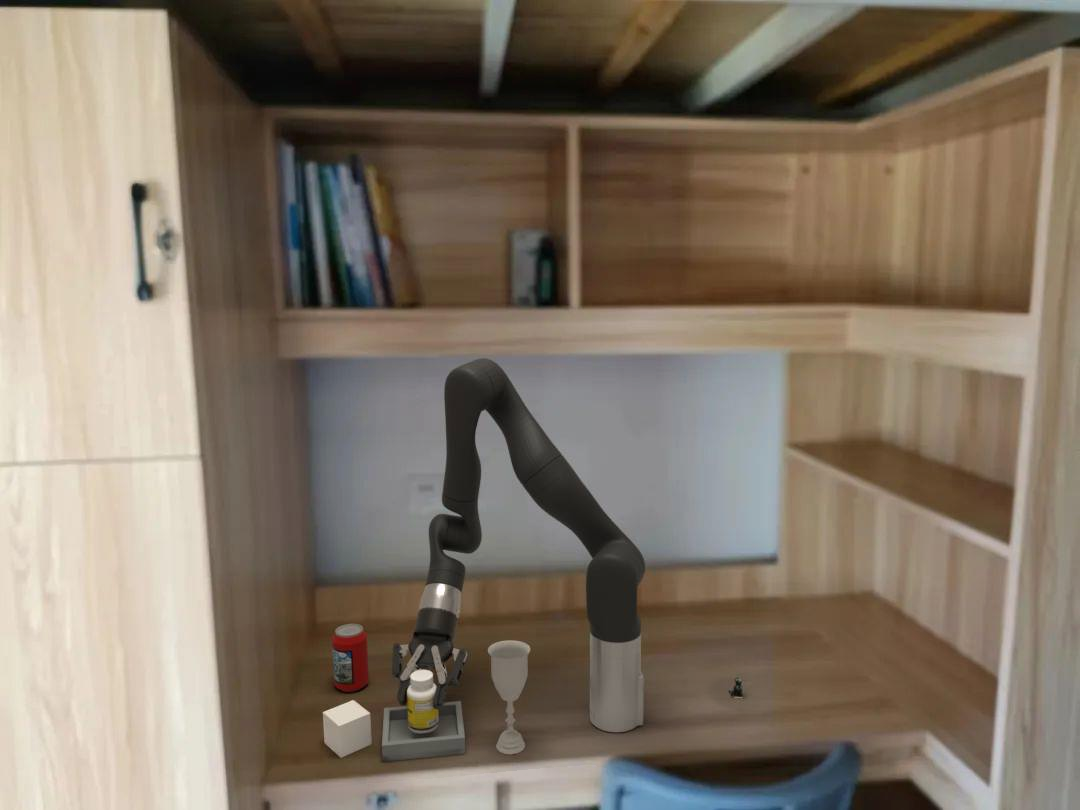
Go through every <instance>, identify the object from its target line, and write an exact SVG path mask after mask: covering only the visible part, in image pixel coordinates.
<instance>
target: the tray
mask: <svg viewBox="0 0 1080 810" xmlns="http://www.w3.org/2000/svg"><path fill="white" fill-rule="evenodd" d="M462 710H463V709H462V701H461V700H458V701H447V702H445V701H444V704H443V706H440V709H438V716H439V724H438V726H437V728H436V729H435V730H433V731H431V732H428V733H415V732H413V731H411V730H410V729H409V726H408V709H407V705H406V706H402V705H400V706H392V707H383V723H382V736H381V737H382V738H381V740H382V741H381V756H382V757H381V759H382V763H385V762H395V761H404V760H405V761H406V760H415V759H416V760H417V759H424V758H425V759H426V758H434V757H435V758H436V757H445V756H455V755H456V756H457V755H464V754H466V737H465V735H466V734H465V727H464V718H463V711H462Z"/></svg>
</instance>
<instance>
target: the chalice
mask: <svg viewBox="0 0 1080 810" xmlns="http://www.w3.org/2000/svg"><path fill="white" fill-rule="evenodd" d="M530 646H531V645H528V644H527V643H525V642H523V641H519V640H511V639H510V640H501V641H497V642H495V643H492V644H491V645H490V646H489V647H488V649H487V652H488V654H489V655H490V662H491V663H490V665H491V666H490V669H491V670H490V671H491V673H490V674H491V680H492V681H493V684H494V686H495V689H496V691H497V693H498V694H499V697H501V699H502V700H503V701H504V702H506V703H507V704H506V705H507V706H506V708H505V712H506V715H507V716H506V718H505V720H504V722H505V723H506V724H507V728H506V729H505V730H503V731H502V733H500V736H499V738H498V740H497V743H496V745H495V746H496V750H497V751H498V752H500V753H501V754H505V755H515V754H519V753H521V752H522V751H524V749H526V748H525V747H526V743H525V741H524V739H523V737H522V734H521V733H520V732H519V731H518V730H517V729H514V728H515V727H514V723H515V722H516V718H514V713H515V711H516V710H515V708H514V705H513V704H514V701H517V700H518V699H519V698H520V695H521V694H522V691H523V689H524V687H525V685H526V681H527V678H528V676H529V672H528V661H529V660H528V658H529V657H528V656H529V654H530V652H531V647H530Z"/></svg>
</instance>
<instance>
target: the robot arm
mask: <svg viewBox="0 0 1080 810" xmlns="http://www.w3.org/2000/svg"><path fill="white" fill-rule="evenodd" d="M443 392H444V393H443V398H444V415H445V416H444V418H445V420H444V421H445V438H446V439H445V441H446V444H445V445H446V448H445V449H446V456H445V457H446V458H445V470H444V477H443V478H444V479H443V485H442V493H441V503H442V506H443V507H444V508H445V509H447V510H448V511H450V512H453V513H454V514H457V515H453V514H448V513H439V514H436V515H435V516H434V517H432V519H431V521H430V523H429V526H428V541H429V543H428V544H429V565H428V572H427V578H426V580H425V581H426V583H425V586H424V590H423V592H422V596H421V598H420V603H419V608H418V611H417V616H416V621H415V623H414V624H415V625H414V629H413V634H412V639H411V640H410V641H409V643H408V644H400V643H399V642H396V643H394V644H393V646H392V647H393V648H392V662H391V663H392V664H391V675H392V676H393V678H394V679H396V681H399V686H398V690H397V694H396V698H397V699H396V700H398V703H399V705H400V706H407V689H408V687H409V686H410V685H411V683H410V676H411V674H412V673H413V672H415V671H417V670H427V669H431V670H433V671H436V675H437V679H438V684H436V686H437V687H436V692H435V697H434V702H433V707H434V708H435V709H440V706H443V704H444V703H445V701H446V694H447V690H448V688H449V687H452V686H458V685H459V684H460V681H461V677H462V675H463V673H464V669H465V667H466V663H467V661H468V658H469V654H468V652H467V650H465V648H460V649H458V648H456V647H455V646H454V643H455V642H454V641H455V637H456V636H455V635H456V632H457V626H458V622H459V621H458V620H459V617H460V612H461V611H460V610H461V604H462V592H463V587H464V582H465V577H466V571H467V570H466V566H465V564H464V563H463V562H461V561H460V560H458V559H456V558H453V557H451V556H450V555H447V554H446V553H445V551H446V552H447V551H448V552H454V553H460V554H467V555H469V554H473V553H475V552H476V551H477V550H478V549H479V547H480V546H481V543H482V540H483V539H482V537H483V533H482V525H481V521H480V516H479V515H480V513H479V503H478V502H479V495H480V494H479V493H480V489H481V480H482V462H481V459H480V456H479V452H478V449H477V445H476V433H477V432H476V431H477V427H478V423H479V420H480V417H481V414H482V412H483V411H486V412H487V413H488V414H489V416H490V417H491V418H492V419H493V421H494V422H495V424H496V425H497V426H498V428H499V430H500V431H501V432H502V435H503V437H504V439H505V442H506V445H507V449H508V454H509V458H510V462H511V465H512V469H513V472H514V475H515V476H516V478H517V480H518V481H519V482H520V484H521V485H522V487H523V489H524V490H525V491H526V492H527V494H528V495H529V496H530V497H531V499H532V500H533V501H534V503H535V504H536V505H537V506H538V507H539V508H540V509H541V510H542V511H544V512H545V513H546V514H547V515H549V516H550V517H551V518H553V519H554V520H556V521H557V522H559V523H561V524H562V525H564V526H565V527H566V528H567V529H569V530H570V531H571V532H572V533H573V534H574V535H575V536H576V537H577V539H578V540H579V541H580V542H581V544H582V545H583V546H584V547H585V549H586V550H587V552H588V554H589V555H590V557H591V560H590V562H589V563H588V566H587V570H586V573H585V575H586V576H585V594H586V595H585V598H586V599H585V602H586V603H585V604H586V617H587V620H588V622H589V720H590V722H591V724H592V725H594V727H595V728H597V729H599V730H602V731H604V732H610V733H625V732H629V731H631V730H633V729H635V728H637V727H638V726H639V727H640V726H644V698H645V696H644V695H645V694H644V691H645V690H644V689H645V687H644V685H645V683H644V681H645V680H644V675H643V673H642V671H641V665H642V664H641V661H642V659H641V658H642V656H641V655H642V654H641V653H642V652H641V649H642V643H641V642H642V620H641V617H640V615H639V614H638V586H639V585H640V583H641V582H642V580H643V578H644V576H645V573H646V562H645V558H644V556H643V554H642V553H641V551H640V550H639V548H638V547H637V546H636V544H635V543H634V542H633V541H632V540H631V539H630V538H629V537H628V536H627V535H626V534H625V533H624V532H623V531H622V529H620V527H619V526H618V525H617V524H616V523H615V522H614V521H613V520H612V519H611V518H610V517H609V515H608V514H607V513H606V512H605V510H604V509H603V508H602V507H601V505H600V504H599V502H598V501H597V500H596V498H595V497H594V495H593V494H592V493H591V492H590V490H589V489H588V488H587V486H586V485H585V484H584V482H583V481H582V480H581V478H580V476H578V474H577V473H576V472H577V471H575V470H574V468H573V467H572V465H571V464H570V463H569V462H568V460H567V459H566V457H564V455H563V454H562V453H561V452H560V450H559V449H558V448H557V446H556V445H555V444H554V443H553V441H552V440H551V439H550V438H549V436H548V434H547V433H546V431H544V430H543V428H542V426H541V424H539V422H538V420H537V419H536V418H535V416H533V414H532V413H531V412H530V410H529V409H528V407H527V405H526V403H524V401H523V399H522V397H521V395H520V394H519V392H518V391H517V389H516V387H515V386H514V384H513V383H512V381H511V380H510V378H509V376H508V375H507V373H506V372H505V371H504V370H503V368H502V367H501V365H499V364H498V363H497V362H495V361H494V360H491V359H489V358H486V357H485V358H478V359H474V360H472V361H468V362H466V363H464V364H461V365H459V366H457V367H455V368H453V369H452V370H451V371H450V372H449V373H448V375H447V377H446V378H445V382H444V391H443ZM408 652H409V653H410V655H411V658H410V659H409V661H408V662H407V664H406V666H405V668H404V670H403V665H404V658H405V657H407V653H408ZM452 656H453V660H454V664H453V667H452V669H451V672H450V675H449V676H448V672H447V667H446V662H448V660H449V659H450V658H451V657H452Z"/></svg>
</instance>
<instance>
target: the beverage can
mask: <svg viewBox="0 0 1080 810" xmlns="http://www.w3.org/2000/svg"><path fill="white" fill-rule="evenodd" d="M331 639H332V640H331V643H332V663H333V665H332V666H333V679H334V687H336V688H337V689H338V690H341V691H343V692H346V693H347V692H350V693H351V692H357V691H359V690H361V689H363V688H364V687H365V686H367V684H368V683H369V679H370V677H369V655H368V653H369V651H368V650H369V649H368V635H367V633H366V632H365V630H364V628H363V626H362V625H361V624H358V623H348V624H343V625H340V626H338V627H337V628H335V632H334V634H333V636H332V638H331Z"/></svg>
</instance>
